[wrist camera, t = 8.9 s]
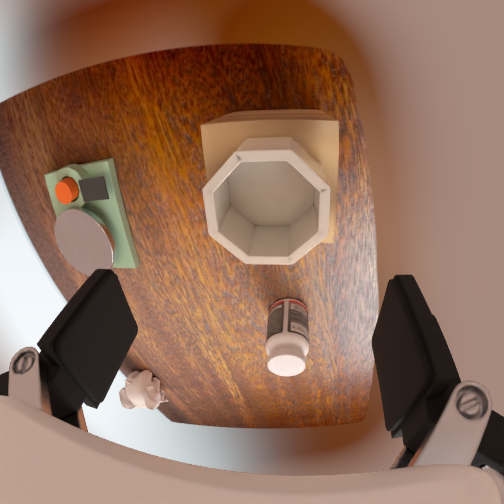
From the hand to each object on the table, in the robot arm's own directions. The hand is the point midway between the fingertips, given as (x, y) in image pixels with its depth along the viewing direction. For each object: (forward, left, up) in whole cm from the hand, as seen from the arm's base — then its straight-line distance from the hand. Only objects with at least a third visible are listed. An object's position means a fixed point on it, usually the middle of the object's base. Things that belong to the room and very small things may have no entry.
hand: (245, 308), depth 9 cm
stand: (0, 0, -24) cm, 24 cm away
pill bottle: (+23, +1, -24) cm, 33 cm away
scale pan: (+8, -26, -21) cm, 34 cm away
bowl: (0, 0, -12) cm, 12 cm away
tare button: (+1, -27, -21) cm, 34 cm away
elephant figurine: (+48, -30, -24) cm, 61 cm away
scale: (+7, -27, -24) cm, 37 cm away
